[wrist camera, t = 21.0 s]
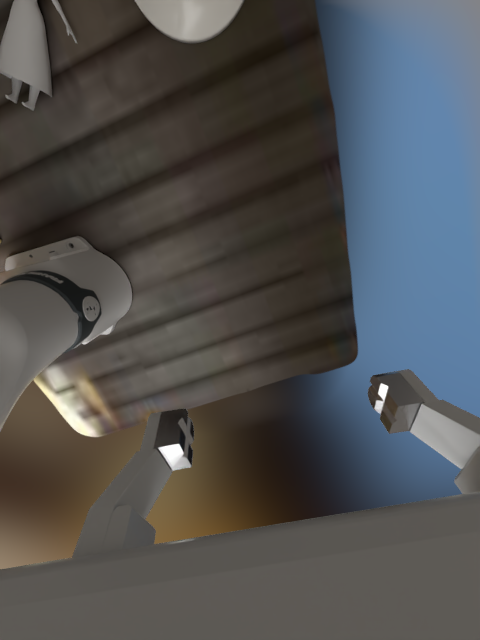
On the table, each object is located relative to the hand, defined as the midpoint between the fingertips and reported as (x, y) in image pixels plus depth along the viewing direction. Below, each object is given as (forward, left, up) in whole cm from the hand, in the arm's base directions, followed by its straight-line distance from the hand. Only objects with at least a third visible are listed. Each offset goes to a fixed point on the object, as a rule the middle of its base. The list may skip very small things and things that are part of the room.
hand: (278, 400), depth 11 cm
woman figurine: (-27, +31, -37) cm, 55 cm away
